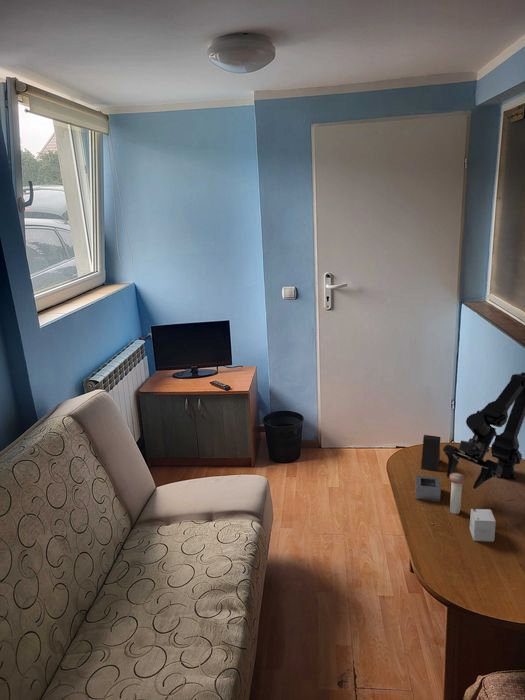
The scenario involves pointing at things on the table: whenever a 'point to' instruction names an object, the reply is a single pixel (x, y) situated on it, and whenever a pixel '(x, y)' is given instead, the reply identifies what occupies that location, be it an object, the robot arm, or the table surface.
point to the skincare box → (482, 525)
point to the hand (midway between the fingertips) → (460, 482)
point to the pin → (456, 492)
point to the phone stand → (430, 453)
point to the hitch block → (428, 488)
